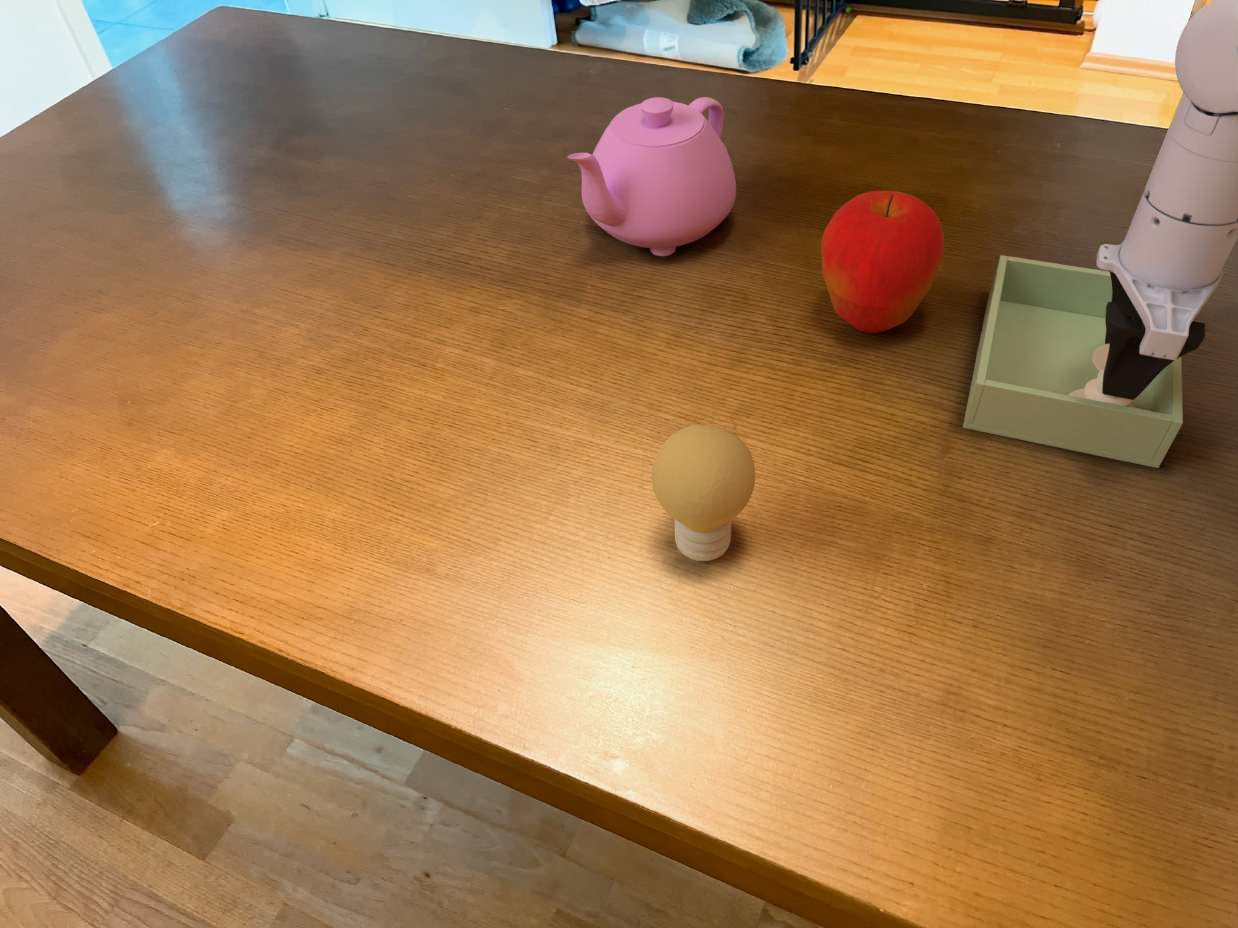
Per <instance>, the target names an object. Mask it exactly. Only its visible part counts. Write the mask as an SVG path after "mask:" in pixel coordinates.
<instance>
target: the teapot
mask: <svg viewBox="0 0 1238 928" xmlns="http://www.w3.org/2000/svg"><path fill="white" fill-rule="evenodd" d="M707 110H708V119H707V118H706V117H705V116H704V114H703V113H704V112H706V111H707ZM724 112H725V111H724V108H723V106H722V104H721V103H720V102H719V101H718V100H716V99H714V98H712V97H709V96H702V97H697V98H696V99H694V100H693V101H692V102H690V103H689V104H685V103H682V102H678V101H672V100H671V99H670V98H666V97H662V96H661V97H660V96H656V97H650V98H647V99H644V100H643V101H642V102H641V103H637V104H633V105H631V106H629V107H627V108H625V109H623V110H621V111H620V112H619V113H618V114H616V115H615V116H614V117H613V118H612V119H611V121H610V123H609V124H608V125H607V127H606V128H605V130H604V131H603V133H602V135H601V137H600V138H599V141H598V143H597V144H596V146H595V148H594V150H593V153H592V154H591V153H588V152H573V153H570V154H569V155H567V159H569V160H571V161H573V162H574V163H577V165H578V167H579V168H580V172H581V200H582V205H583V207H584V210H585V211H586V213H587V214H588V215H589V216H590V218H591V220H593V221H594V223H595V224H596V225H598V227H600V228H601V229H602V230H604V231H605V232H606V233H607V234H608V235H610V236H612V237H613V238H615V239H616V240H618V241H620V242H622V243H625V244H628V245H631V246H635V247H640V248H647V249H649V250H650V252H651V253H652V255H654V256H658V257H667V256H671V255H672V254H674V253H675V251H676V249H677V247H681V246H684V245H687V244H690V243H694V242H696V241H699V240H700V239H702V238H704V237H705V236H707V235H708V234H709V233H711V232H712V231H713V230H714V229H716V228H717V227H718V226H719V225H720V224H721V223H722V222H723V221H724V220H725V219H726V218H727V216H728V215H729V214H730V213H731V211H732V209H733V207H734V206H735V205H734V204H735V201H736V199H737V181H736V175H735V170H734V166H733V162H732V160H731V157H730V154H729V152H728V148H727V147H726V145H725V144H724V143H723V141H722V140H721V139H722V135H723V128H724V122H725V121H724V120H725V113H724Z"/></svg>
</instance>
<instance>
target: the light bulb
mask: <svg viewBox="0 0 1238 928" xmlns="http://www.w3.org/2000/svg"><path fill="white" fill-rule="evenodd" d="M755 468H756V467H755V461H754V458H753V456H752V453H751V451H750V449H749V447H748V446H747V445H746V443H745V442H744V441H743V440H742V439H741V438H740V437H739V436H738V435H735V434H734V433H732V432H730V431H729V430H727V429H725V428H723V427H719V426H715V425H711V424H703V423H699V424H697V423H696V424H695V423H694V424H691V425H686V426H685V427H682V428H681V429H679V430H677V431H675V432H674V433H673V434H672V435H670V436H669V437H668V439H666V440H665V441H664V443H663V444H662V445H661V447H660V448H659V450H658V452H657V453H656V455H655V458H654V461H653V465H652V470H651V485H652V489H653V492H654V496H655V497H656V499H657V501H658V503H659V504H660V506H661V507H662V509H663V510H664V512H666V513H667V514H668V516H670V517H671V518H673V519H674V542H675V545H676V547H677V549H678V550H679V552H680V553H681V554H682V555H683V556H685V557H687V558H688V559H691V560H693V561H698V562H709V561H713V560H716V559H719V558H720V557H721V556H722V555H724V554H726V552H727V550H728V549H729V547H730V545H731V540H732V521H733V519H734V518H736V517H737V516H739V514H740V513H741V512H743V510H744V509H745V508H746V507H747V505H748V503H749V501H750V500H751V497H752V495H753V491H754V488H755V484H756V469H755Z"/></svg>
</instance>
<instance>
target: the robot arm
mask: <svg viewBox="0 0 1238 928" xmlns="http://www.w3.org/2000/svg"><path fill="white" fill-rule="evenodd" d="M1174 64H1175V65H1174V67H1175V74H1176V79H1177V82H1178V85H1179V87H1180V89H1181V91H1182V93H1181V96H1180V99H1179V101H1178V104H1177V106H1176V108H1175V111H1174V114H1173V115H1172V119H1171V122H1170V123H1169V126H1168V128H1167V131H1166V134H1165V137H1164V139H1163V142H1162V144H1161V147H1160V149H1159V152H1158V154H1157V156H1156V159H1155V161H1154V164H1153V165H1152V169H1151V171H1150V174H1149V177H1148V179H1147V182H1146V184H1145V186H1144V190H1143V192H1142V195H1141V197H1140V200H1139V202H1138V204H1137V207H1136V209H1135V212H1134V215H1133V217H1132V220H1131V222H1130V224H1129V227H1128V230H1127V232H1126V235H1125V237H1124V239H1123V241H1122V242H1121V243H1120V244H1110V243H1104V244H1101V245H1100V246H1099V248H1098V251H1097V254H1096V263H1095V264H1096V267H1097V268H1098V269H1099V270H1102V271H1108V272H1110V276H1111V281H1112V301H1111V302H1108V303H1107V306H1106V317H1105V324H1106V336H1105V344H1109V351H1108V356H1107V360H1106V365H1105V369H1104V374H1103V386H1102V393H1103V394H1104V395H1109V396H1114V397H1120V398H1125V399H1130V400H1134V399H1135V398H1136V397H1137V396H1139V395H1140V394H1141V393H1142V392H1143V390H1144V389H1145V388H1146V387H1147V386H1148V385H1149V384H1150V383H1151V382H1152V381H1153V380H1154V379H1155V377H1156V376H1157V375H1158V374H1159V373H1160V372H1161V371H1162V370H1163V369H1164V368H1166V367H1167V366H1168V365H1169V364H1171V363H1172V362H1173V361H1175V360H1177V359H1178V358H1180V357H1181V358H1182V357H1183V356H1185V355H1187V354H1189V353H1191V352H1193V351H1196V350H1197V349H1198V348H1200V346H1201V345H1202V344H1203V342H1204V340H1205V338H1206V324H1205V322H1202V321H1195V319H1196V317H1197V316H1198V315H1199V313H1201V311H1202V310H1203V307H1204V306H1205V305H1206V304H1207V302H1208V301H1209V299H1210V298H1211V297H1212V295H1213V294H1214V292H1215V291H1216V289H1217V288H1218V286H1219V284H1220V282H1221V280H1222V278H1223V276H1224V266H1225V264H1226V262H1227V260H1228V258H1229V256H1230V254H1231V252H1232V250H1233V249H1234V246H1235V244H1236V243H1237V240H1238V0H1213V1H1210V2H1209V3H1206V4H1205V5H1204V6H1202V7H1201V8H1200V9H1198V10H1197V11H1196V12H1195V13H1194V14H1193V15H1192V16H1191V17H1190V19H1189V20H1188V21H1187V22H1186V24H1185V26H1184V27H1183V29H1182V31H1181V33H1180V36H1179V38H1178V41H1177V45H1176V49H1175V58H1174Z"/></svg>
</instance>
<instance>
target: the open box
mask: <svg viewBox="0 0 1238 928" xmlns="http://www.w3.org/2000/svg"><path fill="white" fill-rule="evenodd" d="M1111 301H1112V281H1111V276H1110V271H1106V270H1102V269H1095V268H1094V269H1093V268H1088V267H1081V266H1075V265H1068V264H1062V263H1055V262H1050V261H1049V262H1048V261H1042V260H1036V259H1029V258H1023V257H1016V256H1011V255H1004V254H1000V255H999V257H998V262H997V265H996V269H995V272H994V275H993V279H992V283H991V287H990V289H989V293H988V297H987V300H986V306H985V311H984V317H983V321H982V326H981V331H980V335H979V336H980V337H979V343H978V346H977V352H976V356H975V357H976V358H975V363H974V367H973V373H972V379H971V383H970V388H969V392H968V393H969V394H968V398H967V404H966V409H965V413H964V414H965V415H964V419H963V424H962V428H963V429H967V430H972V431H976V432H981V433H986V434H990V435H996V436H1001V437H1005V438H1010V439H1016V440H1021V441H1023V442H1024V441H1025V442H1030V443H1034V444H1039V445H1044V446H1048V447H1054V448H1058V449H1063V450H1068V451H1073V452H1077V453H1083V454H1088V455H1091V456H1097V457H1102V458H1107V459H1112V460H1116V461H1121V462H1127V463H1130V464H1136V465H1141V466H1145V467H1150V468H1155V469H1159V468H1160V466H1161V465H1162V462H1163V460H1164V459H1165V457H1166V455H1167V453H1168V451H1169V450H1170V448H1171V446H1172V444H1173V442H1174V441H1175V439H1176V436H1177V435H1178V434H1179V431H1180V429H1181V427H1182V426H1183V424H1184V414H1183V413H1184V411H1183V409H1184V408H1183V407H1184V406H1183V375H1182V374H1183V373H1182V371H1183V370H1182V369H1183V368H1182V356H1181V357H1180V358H1178V359H1177V360H1175V361H1173V362H1172V363H1171V364H1169V365H1168V366H1167V367H1166V368H1164V369H1163V370H1162V371H1161V372H1160V373H1159V374H1158V375H1157V376H1156V377H1155V379H1154V380H1153V381H1152V382H1151V383H1150V384H1149V385H1148V386H1147V387H1146V388H1145V389H1144V390H1143V392H1142V393H1141V394H1140V395H1139V396H1137V397H1136V398H1135V399H1134V400H1133V401H1132V403H1131V404H1132V405H1133V406H1134V408H1132V407H1127V406H1121V405H1116V404H1111V403H1106V402H1100V401H1095V400H1090V399H1085V398H1080V397H1074V396H1069V395H1068V394H1070V393H1071V392H1073V391H1076V390H1079V389H1084V388H1085V385H1086V384H1087V383H1088V382H1089V381H1091V380H1093V379H1096V378H1097V377H1098V373H1099V372H1100V370H1099V369H1098V368H1097V367H1096V366H1095V364H1094V363H1093V359H1092V356H1093V352H1094V351H1095V350H1096V349H1097V348H1098V347H1100V346H1102V345H1105V336H1106V324H1105V317H1106V306H1107V303H1108V302H1111Z"/></svg>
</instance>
